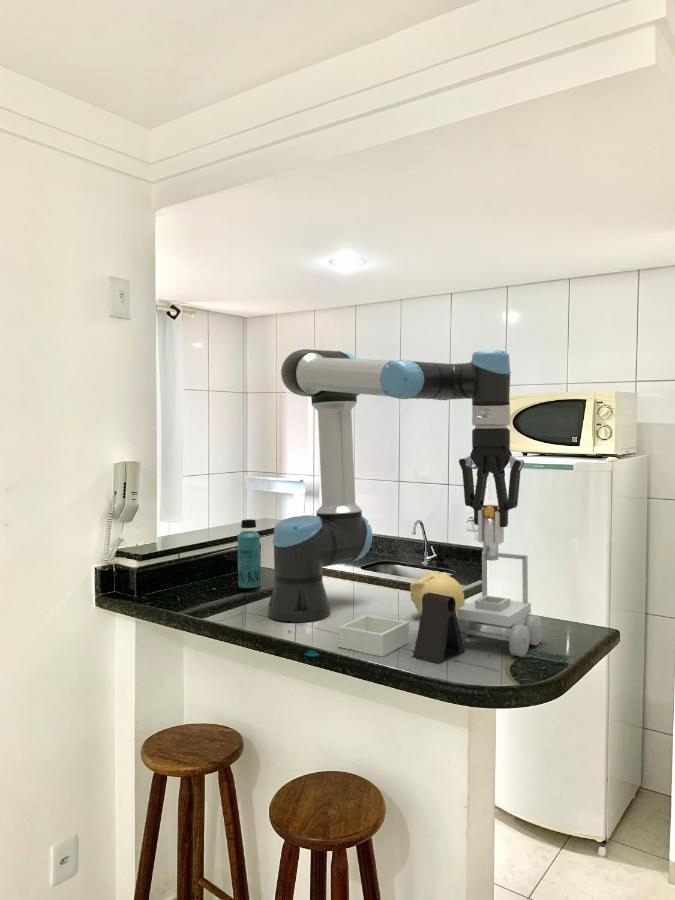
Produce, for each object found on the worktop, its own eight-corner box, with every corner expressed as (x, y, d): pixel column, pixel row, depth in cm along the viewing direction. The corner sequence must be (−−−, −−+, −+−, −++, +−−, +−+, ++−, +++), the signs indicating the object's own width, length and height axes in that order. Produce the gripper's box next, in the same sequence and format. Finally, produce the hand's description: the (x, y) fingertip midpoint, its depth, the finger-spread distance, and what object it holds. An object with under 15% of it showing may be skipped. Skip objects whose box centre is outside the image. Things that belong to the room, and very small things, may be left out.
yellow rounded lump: (433, 608, 173) (433, 565, 172) (473, 617, 164) (473, 572, 164) (403, 617, 165) (402, 572, 164) (443, 627, 156) (442, 580, 156)
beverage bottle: (238, 588, 197) (236, 518, 197) (261, 587, 198) (260, 517, 197) (237, 594, 191) (235, 521, 190) (261, 592, 192) (260, 520, 191)
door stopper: (438, 664, 132) (437, 601, 132) (413, 657, 137) (412, 596, 136) (465, 652, 139) (464, 593, 138) (440, 646, 143) (439, 588, 143)
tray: (338, 647, 143) (338, 627, 143) (366, 634, 152) (366, 614, 152) (382, 656, 137) (382, 635, 137) (408, 642, 146) (408, 622, 146)
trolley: (446, 647, 142) (445, 559, 142) (474, 630, 154) (473, 549, 153) (518, 660, 134) (518, 567, 133) (543, 641, 145) (542, 555, 144)
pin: (481, 559, 142) (481, 505, 142) (486, 557, 145) (486, 504, 144) (494, 561, 140) (495, 506, 140) (500, 558, 143) (500, 505, 142)
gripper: (446, 427, 143) (447, 541, 144) (522, 427, 134) (522, 548, 135) (462, 427, 149) (462, 535, 150) (536, 426, 140) (535, 542, 141)
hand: (490, 541), depth 142 cm, fingers closed on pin, 3 cm apart
